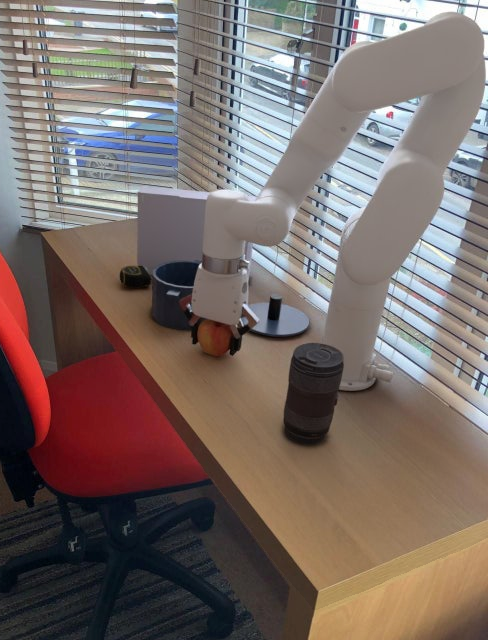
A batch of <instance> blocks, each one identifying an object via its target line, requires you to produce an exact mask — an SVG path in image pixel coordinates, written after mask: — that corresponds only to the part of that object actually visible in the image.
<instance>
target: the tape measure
mask: <svg viewBox="0 0 488 640" xmlns="http://www.w3.org/2000/svg"><path fill="white" fill-rule="evenodd" d="M119 282H120V283H121V285H123V286H124V287H127V288H132V289H139V288H142V287H144V288H145V287H147V286H150V285H152V275H149V274H148V273H147V271H146V270H145V268H144V267H143V266H138V265H127V266H124V267H122V268H121V269H120V271H119Z"/></svg>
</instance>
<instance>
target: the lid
mask: <svg viewBox="0 0 488 640" xmlns="http://www.w3.org/2000/svg"><path fill="white" fill-rule="evenodd" d="M268 301H269V302H265V301H264V302H255V303H251V304H248V307H249V308H250V310H251V311H252V312H253V313H254V314H255V315H256V316H257V317H258V318H259V323H258V324H257V325H255V326H254V327H253V328H252V329H251V330H250V332H253V333H256V334H259V335H262V336H268V337H276V338H277V337H278V338H279V337H280V338H281V337H285V338H286V337H292V336H297V335H299V334H302V333H304V332H305V331H306V330H308V328H309V326H310V320H309V317H308V316H307V315H306V314H305V313H304V312H303V311H302V310H300V309H298V308H296V307H293V306H291V305H287V304H283V303H282V302H283V295H281V294H279V293H271V294H270V295H269V300H268ZM241 320H242V323H243V325H246V324H247V323H248V320H247V319H246V317H244V318H241Z"/></svg>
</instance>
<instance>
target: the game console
mask: <svg viewBox="0 0 488 640" xmlns="http://www.w3.org/2000/svg"><path fill="white" fill-rule="evenodd" d="M211 192H212V191H211ZM211 192H210V191H201V190H188V189H180V188H169V187H159V186H149V185H141V187H140V189H139V190H138V191H137V226H136V227H137V229H136V230H137V232H136V233H137V235H136V239H137V240H136V245H137V247H136V264H137V265H136V266H143V267H144V268H145V270H146V271H147V273H148V274H149V275H150V276H152V275H153V269H154V268H155V267H156V266H158V265H160V264H163V263H166V262H171V261H194V260H199V261H202V252H203V238H204V223H205V207H206V199H207V197H208V195H209V194H210V193H211ZM246 196H247V197H248V199H249V202H253V201H255V200H256V198H257V197H258V196H254V195H252V196H250V195H246ZM253 246H254V243H251V242H248V241H246V242H245V252H244V255H245V260H247V261H249V262H250V263H251V265H252V257H253ZM251 265H250V268H249V269H246V268H245V270H246V271H247V276H248V282H249V280H250V273H251V267H252V266H251Z"/></svg>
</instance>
